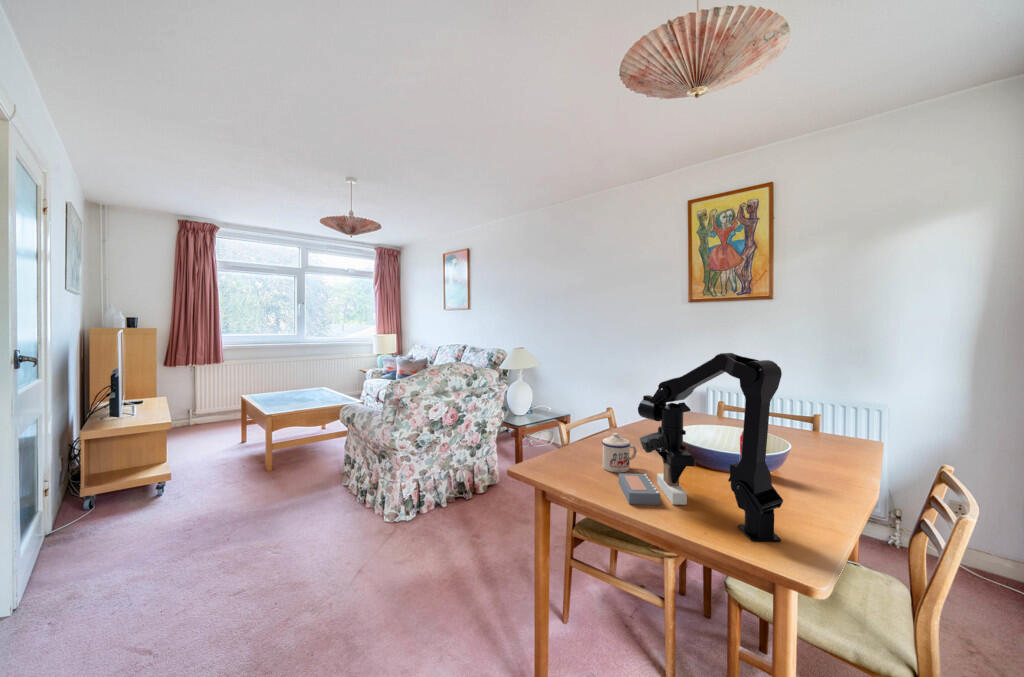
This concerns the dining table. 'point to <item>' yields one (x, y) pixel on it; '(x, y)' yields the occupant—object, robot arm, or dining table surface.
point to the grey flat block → (639, 489)
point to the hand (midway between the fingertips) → (671, 480)
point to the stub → (671, 487)
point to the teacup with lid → (617, 453)
